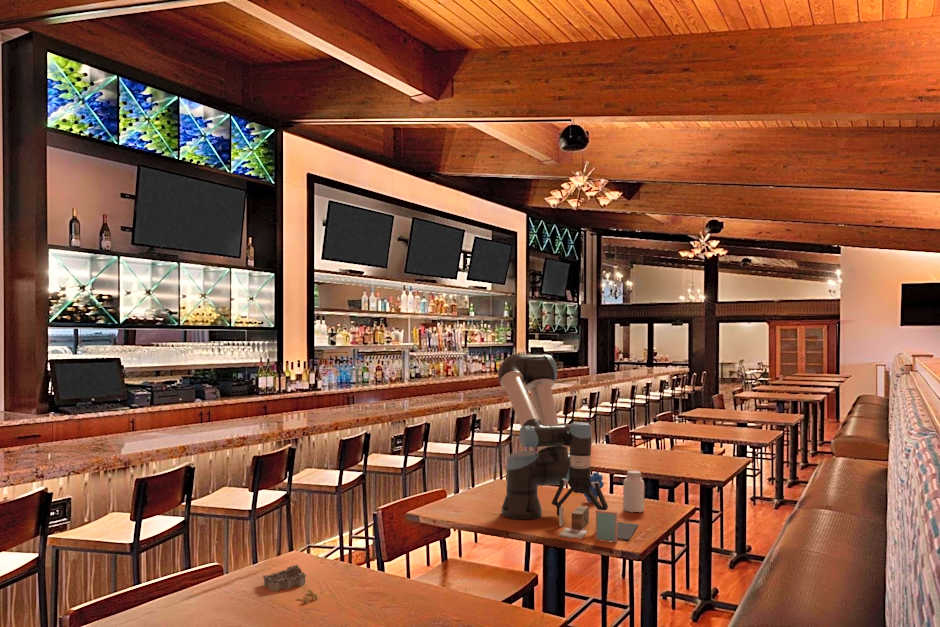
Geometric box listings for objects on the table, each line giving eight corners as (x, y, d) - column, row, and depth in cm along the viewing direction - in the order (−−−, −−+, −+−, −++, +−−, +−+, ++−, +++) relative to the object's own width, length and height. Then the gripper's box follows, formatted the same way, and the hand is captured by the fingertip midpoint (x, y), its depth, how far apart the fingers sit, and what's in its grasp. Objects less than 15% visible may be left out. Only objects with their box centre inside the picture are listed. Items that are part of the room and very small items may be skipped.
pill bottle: (642, 508, 294) (643, 470, 294) (645, 513, 286) (645, 474, 286) (622, 507, 295) (622, 469, 295) (624, 512, 287) (624, 473, 287)
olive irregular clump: (310, 596, 197) (311, 589, 197) (321, 601, 194) (322, 594, 194) (294, 601, 194) (294, 593, 194) (305, 606, 190) (305, 599, 190)
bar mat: (599, 537, 253) (599, 535, 253) (610, 523, 272) (610, 521, 272) (629, 541, 249) (629, 539, 249) (638, 526, 268) (638, 524, 268)
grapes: (593, 497, 311) (594, 468, 311) (607, 500, 306) (607, 471, 306) (576, 502, 303) (576, 472, 303) (589, 505, 298) (590, 474, 298)
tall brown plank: (573, 521, 273) (573, 504, 273) (594, 523, 271) (595, 507, 271) (558, 536, 253) (558, 519, 253) (581, 539, 250) (581, 521, 251)
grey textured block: (299, 578, 210) (299, 563, 210) (308, 586, 203) (308, 571, 204) (261, 584, 204) (261, 569, 204) (269, 593, 198) (269, 577, 198)
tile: (595, 540, 249) (595, 510, 249) (596, 539, 251) (596, 509, 251) (616, 543, 247) (616, 512, 247) (617, 541, 248) (617, 511, 249)
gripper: (543, 465, 266) (542, 525, 266) (612, 471, 257) (612, 533, 257) (549, 462, 273) (548, 520, 273) (616, 467, 264) (615, 528, 264)
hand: (579, 527), depth 265 cm, fingers open, 12 cm apart
